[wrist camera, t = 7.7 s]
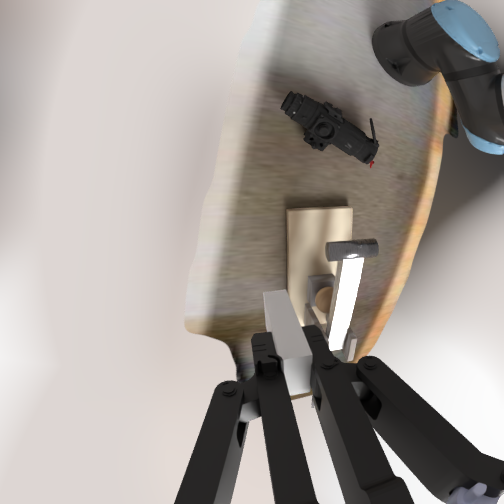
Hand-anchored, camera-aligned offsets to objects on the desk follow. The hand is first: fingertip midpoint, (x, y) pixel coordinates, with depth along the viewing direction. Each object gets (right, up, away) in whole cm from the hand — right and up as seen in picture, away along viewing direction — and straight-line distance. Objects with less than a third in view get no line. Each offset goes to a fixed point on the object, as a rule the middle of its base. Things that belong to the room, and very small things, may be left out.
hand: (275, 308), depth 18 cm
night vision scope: (+11, +25, +26) cm, 38 cm away
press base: (+11, +1, +35) cm, 36 cm away
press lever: (+12, -3, +23) cm, 26 cm away
